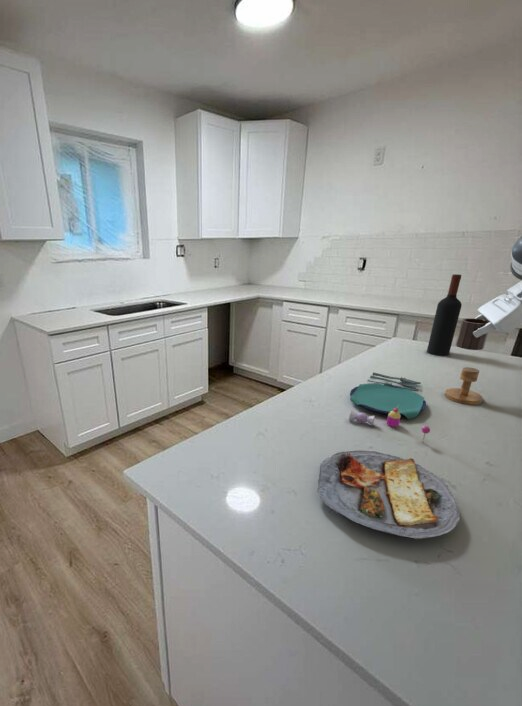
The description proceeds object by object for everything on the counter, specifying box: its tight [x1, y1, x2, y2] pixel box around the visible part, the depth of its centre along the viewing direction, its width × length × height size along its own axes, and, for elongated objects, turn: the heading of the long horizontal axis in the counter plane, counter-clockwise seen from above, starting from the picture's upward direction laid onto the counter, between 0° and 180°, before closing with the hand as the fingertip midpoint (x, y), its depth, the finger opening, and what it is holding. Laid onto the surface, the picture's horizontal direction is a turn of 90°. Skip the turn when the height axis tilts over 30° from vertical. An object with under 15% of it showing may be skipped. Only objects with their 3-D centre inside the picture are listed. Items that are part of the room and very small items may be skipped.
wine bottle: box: [426, 273, 463, 357], centre depth 138 cm, size 8×8×30 cm
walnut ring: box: [455, 317, 490, 351], centre depth 103 cm, size 7×7×8 cm
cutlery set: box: [349, 372, 427, 420], centre depth 109 cm, size 20×30×2 cm, turn 143°
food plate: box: [316, 450, 461, 540], centre depth 69 cm, size 25×23×4 cm
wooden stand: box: [444, 366, 483, 406], centre depth 105 cm, size 9×9×9 cm
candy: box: [348, 405, 431, 444], centre depth 92 cm, size 18×8×6 cm, turn 57°
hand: (470, 331), depth 103 cm, fingers closed on walnut ring, 6 cm apart
